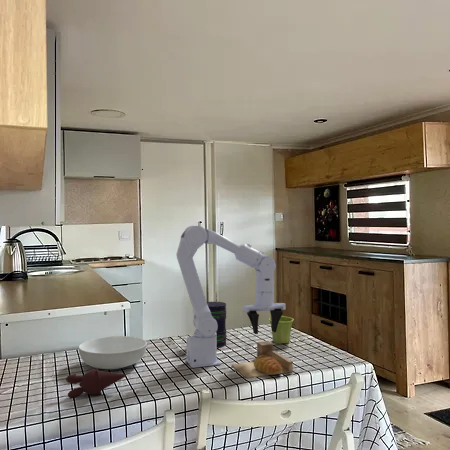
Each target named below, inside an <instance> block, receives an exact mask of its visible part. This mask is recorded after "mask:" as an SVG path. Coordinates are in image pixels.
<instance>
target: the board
mask: <svg viewBox="0 0 450 450" xmlns="http://www.w3.org/2000/svg"><path fill="white" fill-rule="evenodd" d="M272 358H275V359H276V361H278V362H279V364H281V367H282V371H281V373H277V374H276V375H278V374H281V375H282V374H286V373H288V372H289V373H293V372H294V371H293V367H294V363H293V360H291V359H289V358H288V357H286V356H284V355H283V354H281V353H279V352H277V351H276V350H273V351H272ZM231 367H233V368H234V369H235V370H236V371H238V373H240V374H241V375H242V376H243V377H245V379H249V378H257V377H264V376H271V375H273V374H266V373H263V372H260V371H258V370H257V369H256V368H255V366H254V361H251V362H249V361H248V362H240V363H233V364H231ZM289 373H288V374H289Z"/></svg>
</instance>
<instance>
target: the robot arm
mask: <svg viewBox="0 0 450 450" xmlns="http://www.w3.org/2000/svg"><path fill="white" fill-rule="evenodd" d="M179 239H180V240H179V244H178V247H177V251H176V260H177V262H178V265H179V268H180V272H181V275H182V278H183V281H184V282H183V283H184V284H185V289H186V291H187V294H188V297H189V300H190V304H191V308H192V313H193V321H192V322H193V325H194V327H195V331H194V333H193V335H190V336H187V338H186V359H185V360H186V363H188V365H189V366H190V367H191V368H193V369H194V368H201V367H202V368H203V367H211V366H219V365H221V363H222V362H221V361H220V360H218V358H217V357H218V355H217V353H218V351H217V335H216V334H217V333H216V331H217V328H218V324H217V321H216V320H215V319H214V318H213V317H212V315H211V312H210V310H209V307H208V305H207V302H208V301H207V299H206V296H205V293H204V290H203V287H202V283H201V280H200V276H199V274H198V270H197V268H196V264H195V261H194V256H195V255H196V253H197V251H198V250H199V249H200V248H201V247H202V246H203V245H204V244H207V245H212V244H213V245H215V246H218V247H220V248H222V249H223V250H226V251H228V252H230V253H233V254H234V257H235V260H237V261H239V262H241V263H243V264H245V266H246V265H247V266H249V267H251V268H253V269H254V270H255V303H254V304H249V305H247V304H246V305H243V306H242V307H243V308H242V309H243V312H244V313H246V314H247V316H248V318H249V320H250V321H249V322H250V323H251V328H252V331H253V334H255V335H258V334H259V318H260V314H259V313H258V312H263V311H264V312H265V311H269V313H270V317H271V324H270V327H271V328H272V329H271V328H270V329H271V332H272V331H273V332H276V330H277V326H278V323H279V320H280V318H281V316H283V315H284V314H283V313H284V312H283V310H284V311H285V310H287V309H286V308H287V306H286V304H287V303H284V302H275V303H274V272H275V270H276V266H277V264H276V262H275V260H274V258H273V257H271V256H269V255H265V254H264V251H261V250H260V251H258V250H257V249H255V248H253V247H252V244H250V243H242V244H237V243H236V242H234V241H232V240H230V239H229V238H227V237H225V236H223V235H221V234H220V233H218V232H216V231H214V230H212V229H209V228H204V227H203V226H201V225H190V226H188V227H186V228H185V230H184V231H183V232H182V233H181V236H180V238H179Z"/></svg>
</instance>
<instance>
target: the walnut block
mask: <svg viewBox="0 0 450 450" xmlns="http://www.w3.org/2000/svg"><path fill="white" fill-rule="evenodd" d="M272 351H274V344H273V343H272V342H271V341H269V340H265V341H257V342H256V358H257V357H259V356H260V355H266V356H267V357H272Z"/></svg>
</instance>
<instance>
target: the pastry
mask: <svg viewBox="0 0 450 450" xmlns="http://www.w3.org/2000/svg"><path fill="white" fill-rule="evenodd" d="M253 362H254V366H255V368H256V369H257V370H258V371H260V372H263V373H266V374H273V375H278V374H277V373H281V371H282V367H281V364H279V362H278V361H276V359H275V358H272V357H267V356H266V355H260V356H259V357H257V356H256V358H255V359H254V361H253ZM281 374H282V373H281Z"/></svg>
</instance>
